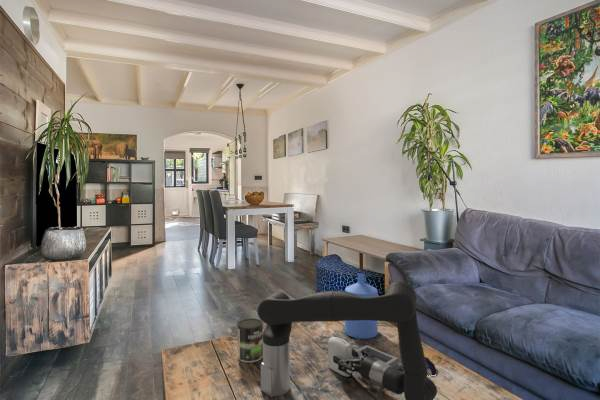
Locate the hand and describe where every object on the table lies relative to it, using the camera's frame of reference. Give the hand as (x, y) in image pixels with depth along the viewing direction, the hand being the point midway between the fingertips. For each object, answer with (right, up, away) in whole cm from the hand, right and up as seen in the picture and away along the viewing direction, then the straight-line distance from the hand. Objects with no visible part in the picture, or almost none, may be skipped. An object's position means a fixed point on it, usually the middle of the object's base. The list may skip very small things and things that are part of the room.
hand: (341, 354), depth 134 cm
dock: (+14, -6, +6) cm, 16 cm away
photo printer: (-1, -7, +1) cm, 7 cm away
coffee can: (-36, -6, +12) cm, 39 cm away
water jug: (+13, -5, +35) cm, 38 cm away
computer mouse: (+32, -7, +4) cm, 33 cm away
